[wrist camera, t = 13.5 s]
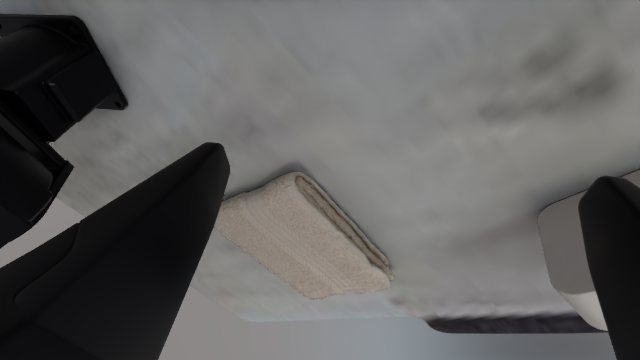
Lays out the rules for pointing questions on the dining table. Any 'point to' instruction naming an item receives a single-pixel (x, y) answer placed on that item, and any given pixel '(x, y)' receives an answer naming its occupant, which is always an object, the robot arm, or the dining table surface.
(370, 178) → the dining table surface
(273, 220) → the washcloth
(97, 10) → the dining table surface
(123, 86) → the dining table surface
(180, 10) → the dining table surface
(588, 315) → the grey block
